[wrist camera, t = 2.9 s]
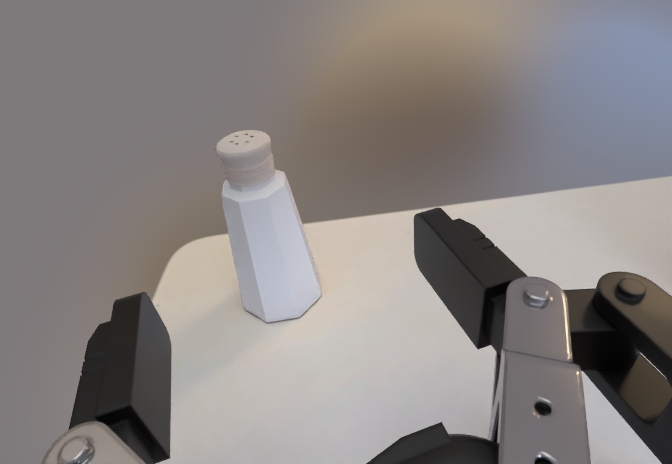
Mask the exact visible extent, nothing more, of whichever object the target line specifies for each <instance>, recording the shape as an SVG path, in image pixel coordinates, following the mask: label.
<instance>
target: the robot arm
mask: <svg viewBox="0 0 672 464" xmlns="http://www.w3.org/2000/svg"><path fill="white" fill-rule="evenodd" d="M414 254H415V259H416V263H417V265H418V268H419V270H420V271H421V273H422V274H423V276H424V277H425V278H426V280H427V281H428V282H429V284H430V285H431V286H432V288H433V289H434V291H435V292H436V293H437V295H438V296H439V297H440V299H441V300H442V301H443V303H444V304H445V305H446V307H447V308H448V310H449V311H450V312H451V314H452V315H453V316H454V318H455V319H456V320H457V322H458V323H459V325H460V326H461V327H462V329H463V330H464V331H465V333H466V334H467V335H468V337H469V338H470V340H471V341H472V342H473V344H474V345H475V346H476V348H477V349H480V348H483V347H486V346H489V345H492V347H493V348H494V349H495V350H496V358H495V370H494V383H493V396H492V409H491V420H490V428H489V436H488V440H487V439H484V438H480V437H477V436H471V435H465V434H448V433H447V431H446V429H445V427H444V426H443V424H442V422H441V423H438V424H435V425H433V426H430V427H428V428H425V429H422V430H420V431H417V432H415V433H412V434H409V435H407V436H404V437H402V438H400V439H399V440H397V441H396V442H395V443H393V444H392V445H391V446H389V447H388V448H387V449H385V450H384V451H383V452H381V453H380V454H379V455H377V456H376V457H375V458H373V459H372V460H371V461H369V462H368V463H366V464H591V460H590V450H589V441H588V431H587V421H586V411H585V401H584V391H583V382H582V373H581V371H583V372H584V373H585V374H586V375H587V376H588V377H589V379H590V380H591V381H592V382H593V383H594V385H595V386H596V387H597V388H598V389H599V390H600V392H601V393H602V394H603V395H604V396H605V397H606V399H607V400H608V401H609V402H610V403H611V404H612V406H613V407H614V408H615V409H616V410H617V411H618V413H619V414H620V415H621V416H622V417H623V418H624V420H625V421H626V422H627V423H628V424H629V425H630V427H631V428H632V429H633V430H634V431H635V432H636V434H637V435H638V436H639V437H640V438H641V439H642V441H643V442H644V443H645V444H646V445H647V446H648V448H649V449H650V450H651V451H652V452H653V453H654V455H655V456H656V457H657V458H658V459H659V460H660V462H661V463H662V464H672V297H671V296H670V295H669V294H668V293H666V292H665V291H664V290H663V289H661V288H660V287H659V286H657V285H656V284H655V283H653V282H652V281H650V280H649V279H647V278H645V277H642V276H640V275H637V274H633V273H629V272H611V273H608V274H605V275H603V276H602V277H601V278H600V279H599V281H598V284H597V287H596V289H578V290H562V289H561V288H560V287H559V286H557V285H556V284H555V283H553V282H551V281H549V280H546V279H543V278H539V277H528V276H527V275H526V274H525V273H524V272H523V271H522V270H520V269H519V268H518V267H517V266H516V265H515V264H514V263H513V262H512V261H511V260H510V259H509V258H508V257H507V256H506V255H505V254H504V253H503V252H502V251H501V250H500V249H499V248H498V247H497V246H496V247H495V246H494V244H493V243H492V242H491V241H490V240H489V239H488V238H486V237H485V235H484V234H483V233H482V232H481V231H480V230H479V229H478V228H477V227H476V226H475V225H472V224H470V223H468V222H466V221H464V220H462V219H456V220H452V219H451V218H450V217H449V216H448V215H447V214H446V213H445V212H444V211H443V210H442V209H441V208H435V209H432V210H428V211H425V212H421V213H418V214H416V215H415V216H414ZM640 352H641V353H642V354H643V355H644V356H645V357H646V358H647V359H648V360H649V361H650V362H651V363H652V364H653V365H654V366H655V367H656V368H657V369H658V370H659V371H660V372H661V373H662V374H663V375H664V376H665V377H666V378H667V379H666V378H665V377H664V376H663V375H662V374H661V373H660V372H659V371H658V370H657V369H656V368H655V367H654V366H653V365H651V364H650V363H649V362H648V361H647V360H646V359H645V358H644V357H643V356H642V355H641V354H640ZM81 372H82V376H80V381H79V386H78V390H77V394H76V399H75V403H74V408H73V412H72V417H71V422H70V426H69V430H68V431H67V432H65V433H64V434H63V435H62V436H60V437H59V439H57V440H56V441H55V442H54V443H53V445H52V446H51V447H50V448H49V450H48V451H47V453H46V454H45V456H44V458H43V461H42V463H41V464H155V463H158V462H161V461H163V460H166V459H169V458H170V418H171V342H170V337H169V334H168V331H167V329H166V327H165V325H164V323H163V321H162V320H161V318H160V316H159V314H158V312H157V310H156V309H155V307H154V305H153V303H152V301H151V300H150V298H149V296H148V295H147V293H145V292H142V293H138V294H135V295H132V296H128V297H124V298H121V299H118V300H116V301H115V302H114V305H113V311H112V317H111V321H109V322H106V323H103V324H100V325H99V326H98V327H97V329H96V330H95V332H94V333H93V335H92V337H91V338H90V339H89V341H88V345H87V349H86V353H85V362H83V367H82V371H81Z"/></svg>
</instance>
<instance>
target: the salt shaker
mask: <svg viewBox="0 0 672 464" xmlns="http://www.w3.org/2000/svg"><path fill="white" fill-rule="evenodd" d="M270 147H271V140H270V137H269V136H268V135H267V134H266V133H264V132H262V131H257V130H245V131H239V132H235V133H233V134H230V135H228V136H226V137H224V138H223V139H221V140H220V141H219V142H218V144H217V146H216V152H217V155H218V157H219V158H220V160H221V161H222V164H221V165H222V167H223V170H224V173H225V174H226V175H227V180H226V181H225V182H224V184H223V190H222V201H223V208H224V214H225V219H226V223H227V228H228V233H229V238H230V243H231V248H232V253H233V257H234V262H235V267H236V272H237V277H238V282H239V287H240V292H241V296H242V301H243V306H244V309H245V310H247V311H249V312H250V313H252V314H254V315H255V316H257V317H259V318H260V319H262V320H264V321H265V322H267V323H268V322H274V321H280V320H286V319H292V318H298V317H300V316H301V315H302V314H303V313H304V312H305V311H306V310H308V309H309V308H310V307H311V306H312V305H313V304H314V303H315V302H316V301H317V300H318V299H319V298H320V297H321V288H320V281H319V274H318V271H317V267H316V264H315V261H314V258H313V255H312V252H311V249H310V246H309V243H308V240H307V237H306V234H305V231H304V228H303V225H302V223H301V219H300V216H299V213H298V210H297V207H296V204H295V201H294V198H293V195H292V192H291V189H290V186H289V183H288V181H287V178H286V175H285V173H284V172H282V171H279V170H275V167H274V165H273V163H274V160H273V156H272V152H271V151H270Z"/></svg>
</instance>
